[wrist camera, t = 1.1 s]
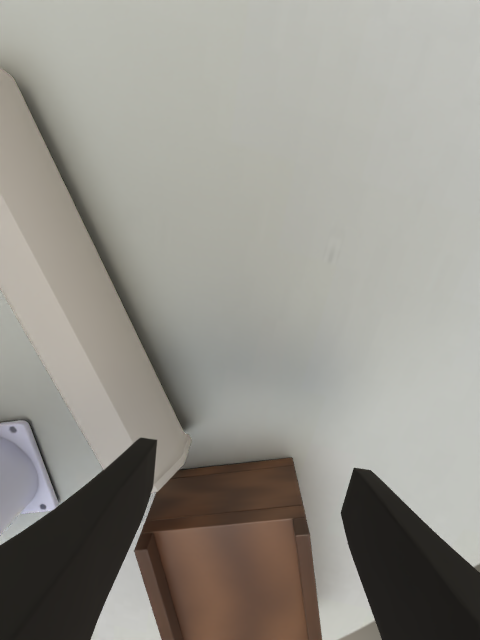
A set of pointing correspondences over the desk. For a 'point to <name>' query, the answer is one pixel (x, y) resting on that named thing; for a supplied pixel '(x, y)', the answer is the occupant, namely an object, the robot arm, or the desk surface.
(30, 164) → the tube
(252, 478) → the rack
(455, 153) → the desk surface
